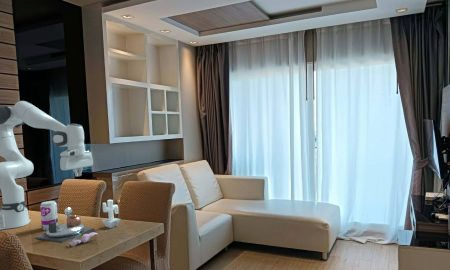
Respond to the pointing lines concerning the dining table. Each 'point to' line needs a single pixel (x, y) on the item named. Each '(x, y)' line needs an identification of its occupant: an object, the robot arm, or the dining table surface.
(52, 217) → the supplement can
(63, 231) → the turntable
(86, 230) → the plinth
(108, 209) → the figurine
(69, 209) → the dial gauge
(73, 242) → the rabbit figure
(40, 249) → the dining table surface
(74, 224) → the cover
